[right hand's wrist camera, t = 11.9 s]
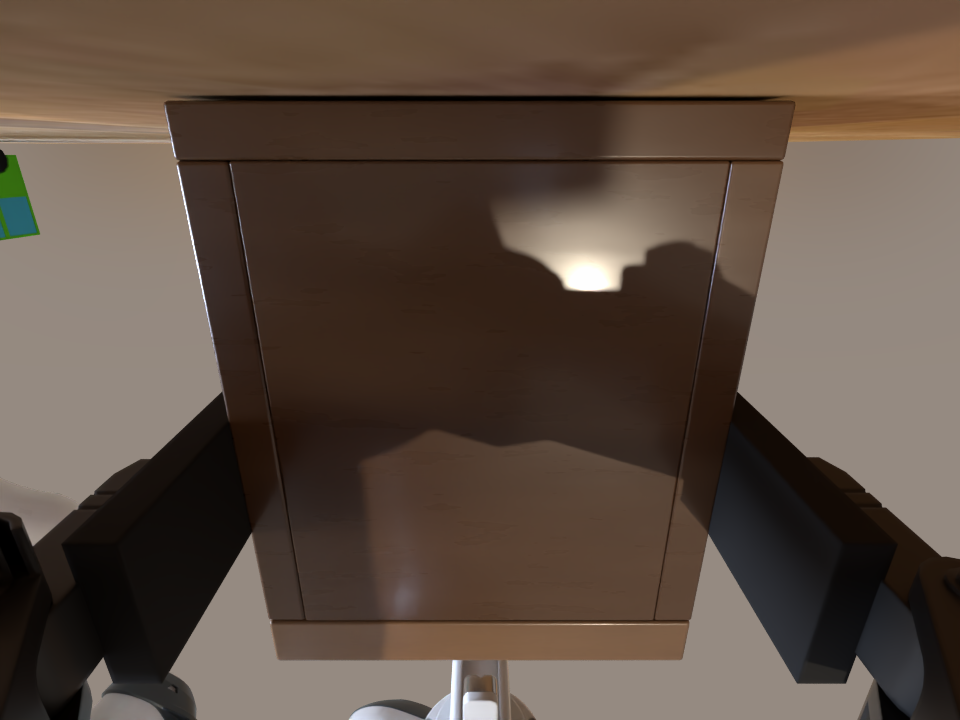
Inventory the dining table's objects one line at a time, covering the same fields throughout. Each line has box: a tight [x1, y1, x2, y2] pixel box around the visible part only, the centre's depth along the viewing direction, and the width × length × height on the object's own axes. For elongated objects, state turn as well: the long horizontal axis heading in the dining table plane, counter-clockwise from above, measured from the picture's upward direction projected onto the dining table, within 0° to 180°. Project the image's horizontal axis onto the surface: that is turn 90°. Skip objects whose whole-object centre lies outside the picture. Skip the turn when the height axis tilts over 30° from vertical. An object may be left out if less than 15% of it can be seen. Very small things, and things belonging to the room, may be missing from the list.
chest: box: [164, 101, 795, 620], centre depth 18 cm, size 17×10×11 cm, turn 0°
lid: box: [270, 617, 689, 660], centre depth 22 cm, size 18×10×9 cm, turn 0°
